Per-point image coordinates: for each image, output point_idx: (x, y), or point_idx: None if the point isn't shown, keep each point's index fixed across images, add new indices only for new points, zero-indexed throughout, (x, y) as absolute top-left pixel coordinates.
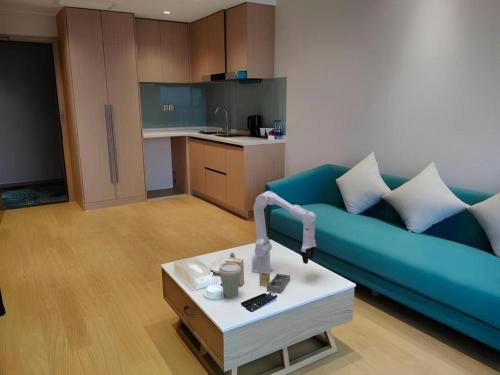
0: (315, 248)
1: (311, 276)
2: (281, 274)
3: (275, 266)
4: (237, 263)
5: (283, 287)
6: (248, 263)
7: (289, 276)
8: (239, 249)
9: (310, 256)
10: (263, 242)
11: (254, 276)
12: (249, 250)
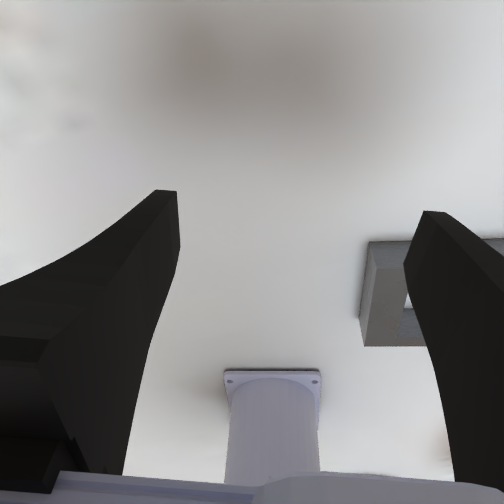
0: (73, 309)
1: (223, 88)
2: (372, 321)
3: (184, 364)
4: None
5: None
6: (222, 452)
7: (392, 266)
8: None
9: (171, 245)
10: None
11: (374, 406)
12: None
